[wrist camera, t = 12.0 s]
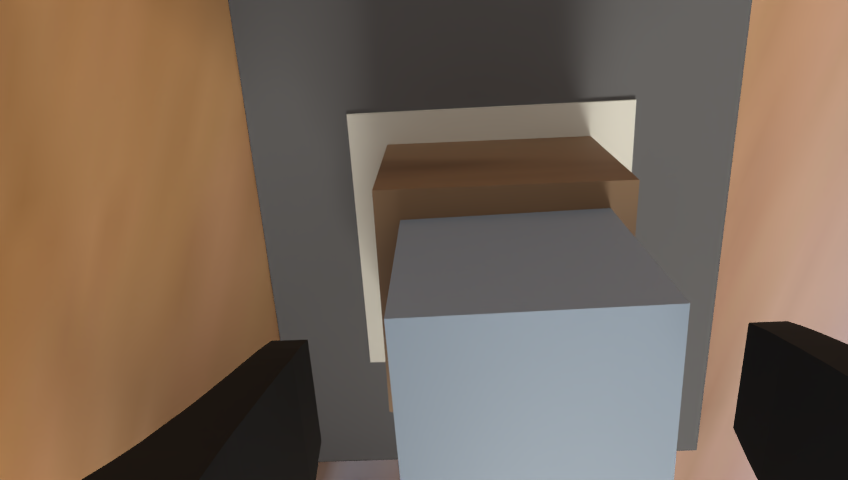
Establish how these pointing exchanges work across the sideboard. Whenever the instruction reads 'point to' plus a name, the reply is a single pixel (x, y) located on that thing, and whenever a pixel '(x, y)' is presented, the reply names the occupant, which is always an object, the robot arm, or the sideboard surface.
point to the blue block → (533, 349)
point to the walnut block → (493, 187)
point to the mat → (474, 121)
